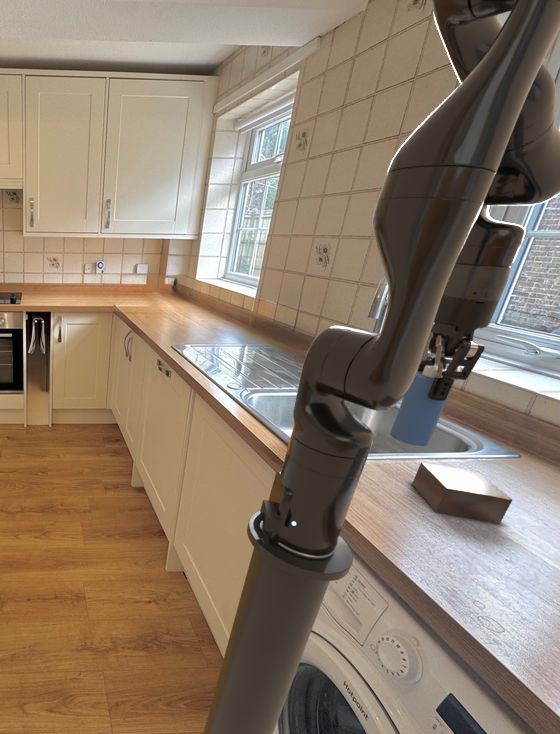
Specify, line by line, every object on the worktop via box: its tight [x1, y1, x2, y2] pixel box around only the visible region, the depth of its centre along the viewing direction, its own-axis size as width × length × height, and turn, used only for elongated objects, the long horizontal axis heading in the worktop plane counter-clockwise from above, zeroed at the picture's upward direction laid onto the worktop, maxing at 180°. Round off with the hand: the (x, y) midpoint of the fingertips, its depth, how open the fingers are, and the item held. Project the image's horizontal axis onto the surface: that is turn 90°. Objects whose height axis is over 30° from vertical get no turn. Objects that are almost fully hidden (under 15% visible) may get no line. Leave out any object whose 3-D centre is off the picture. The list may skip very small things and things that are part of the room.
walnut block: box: [411, 462, 513, 525], centre depth 74 cm, size 9×9×5 cm
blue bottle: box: [389, 365, 456, 447], centre depth 71 cm, size 5×5×14 cm
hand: (427, 392), depth 71 cm, fingers closed on blue bottle, 5 cm apart
